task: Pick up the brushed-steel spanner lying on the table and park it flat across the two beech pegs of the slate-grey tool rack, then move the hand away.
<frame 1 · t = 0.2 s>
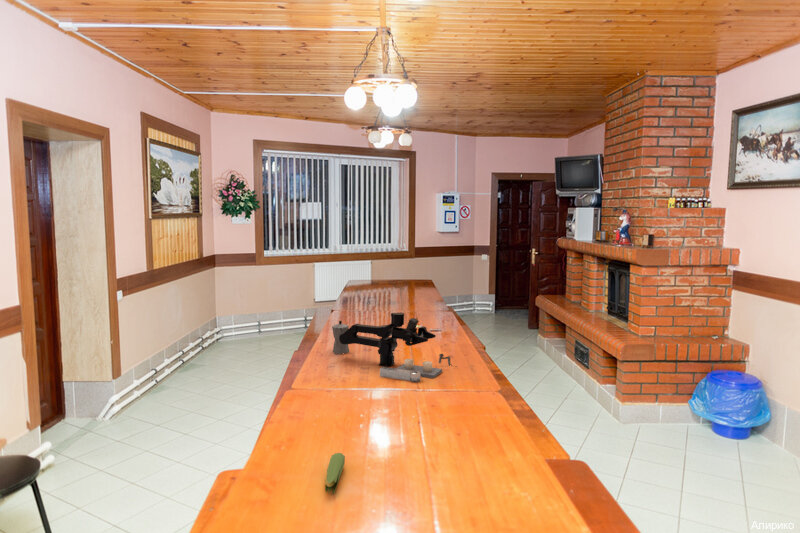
hand: (431, 338, 252), 17 cm above the table, tool horizontal, fingers open, 9 cm apart
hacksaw: (448, 362, 270), on the table
tool rack: (418, 372, 253), on the table
edible corn: (333, 480, 152), on the table
coffeepot: (341, 352, 291), on the table
spanner: (396, 377, 245), on the table
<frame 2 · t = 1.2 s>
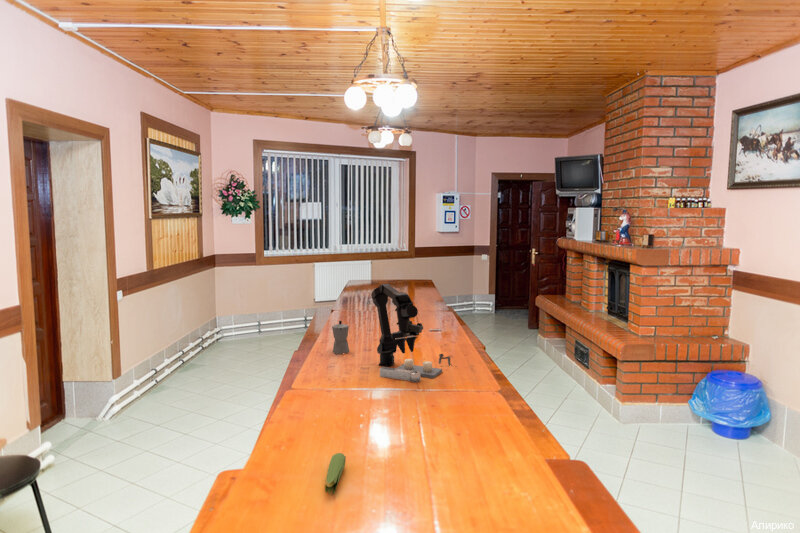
hand: (408, 352, 243), 12 cm above the table, tool tilted 15°, fingers open, 9 cm apart
nothing on the table moved.
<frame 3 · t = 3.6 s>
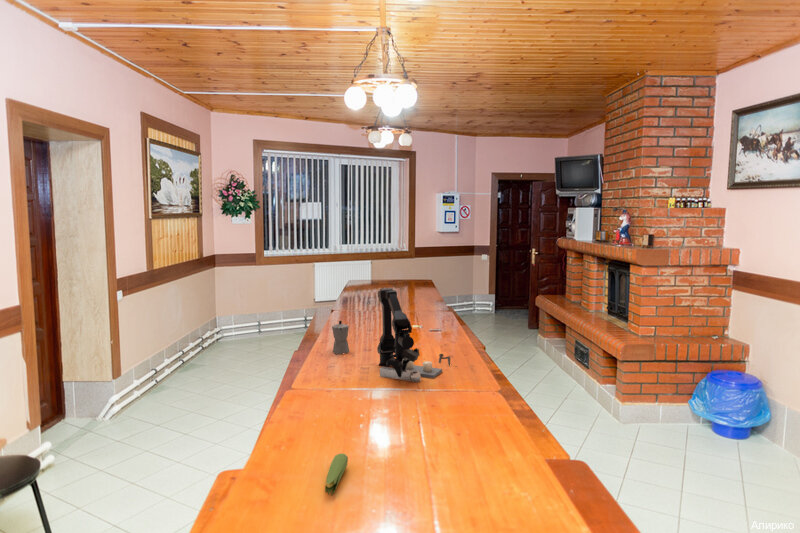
hand: (401, 376, 243), 1 cm above the table, tool pointing down, fingers closed on spanner, 3 cm apart
spanner: (396, 377, 245), on the table, touching gripper
everything else where it was.
when the fingers open (8 cm above the table, at t = 6.9 s): spanner stays where it is, resting on tool rack.
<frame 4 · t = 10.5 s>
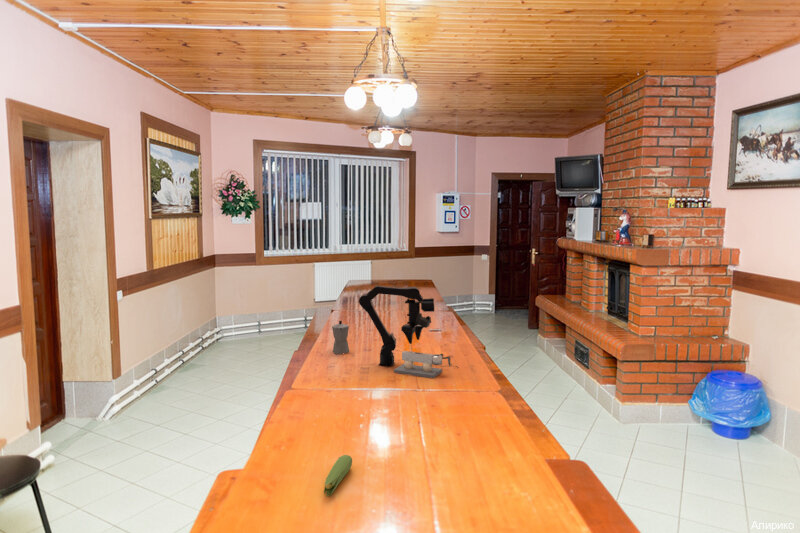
hand: (414, 341, 264), 12 cm above the table, tool pointing down, fingers open, 9 cm apart
spanner: (418, 361, 252), point 5 cm above the table, touching tool rack
at the end: spanner 0.0 cm off-centre on the tool rack, point 5.5 cm above the tool rack's base; spanner tilted 0°; the gripper is holding nothing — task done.
